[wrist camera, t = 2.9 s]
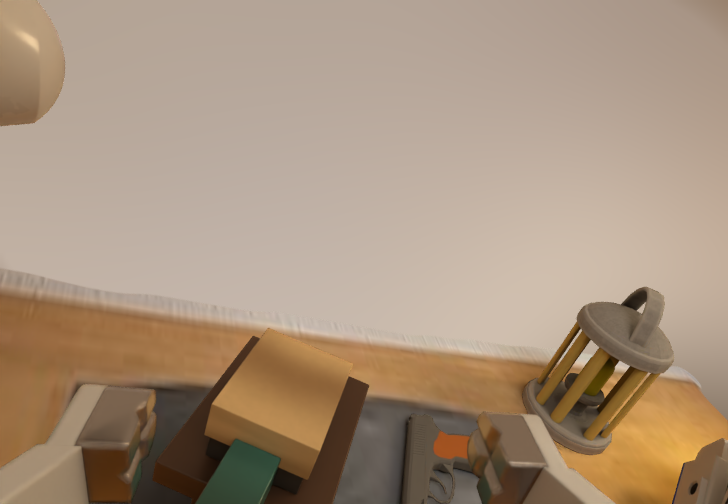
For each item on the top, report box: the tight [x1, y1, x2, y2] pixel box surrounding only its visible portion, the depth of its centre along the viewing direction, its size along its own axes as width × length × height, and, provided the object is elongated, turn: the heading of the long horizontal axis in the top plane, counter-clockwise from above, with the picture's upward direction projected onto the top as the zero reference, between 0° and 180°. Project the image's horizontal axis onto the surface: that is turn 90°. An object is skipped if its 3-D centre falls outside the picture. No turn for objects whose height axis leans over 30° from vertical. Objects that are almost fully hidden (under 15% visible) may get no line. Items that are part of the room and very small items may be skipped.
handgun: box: [401, 414, 472, 504], centre depth 54 cm, size 2×16×12 cm
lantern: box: [522, 287, 674, 455], centre depth 68 cm, size 14×14×25 cm
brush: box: [195, 328, 353, 504], centre depth 18 cm, size 15×5×4 cm, turn 167°
